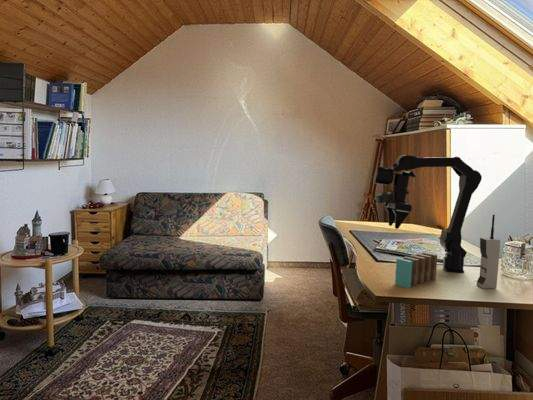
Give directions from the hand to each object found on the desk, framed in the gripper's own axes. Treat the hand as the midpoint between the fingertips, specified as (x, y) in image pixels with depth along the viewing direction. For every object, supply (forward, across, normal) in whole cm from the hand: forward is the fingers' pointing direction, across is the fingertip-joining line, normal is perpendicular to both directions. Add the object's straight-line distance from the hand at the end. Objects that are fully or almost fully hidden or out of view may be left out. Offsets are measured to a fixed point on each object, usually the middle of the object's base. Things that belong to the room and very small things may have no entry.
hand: (393, 227), depth 166 cm
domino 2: (+17, +20, +3) cm, 26 cm away
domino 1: (+17, +22, 0) cm, 28 cm away
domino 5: (+15, +12, +12) cm, 23 cm away
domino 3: (+16, +17, +6) cm, 24 cm away
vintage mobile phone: (+14, +20, +29) cm, 38 cm away
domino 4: (+16, +15, +9) cm, 23 cm away
